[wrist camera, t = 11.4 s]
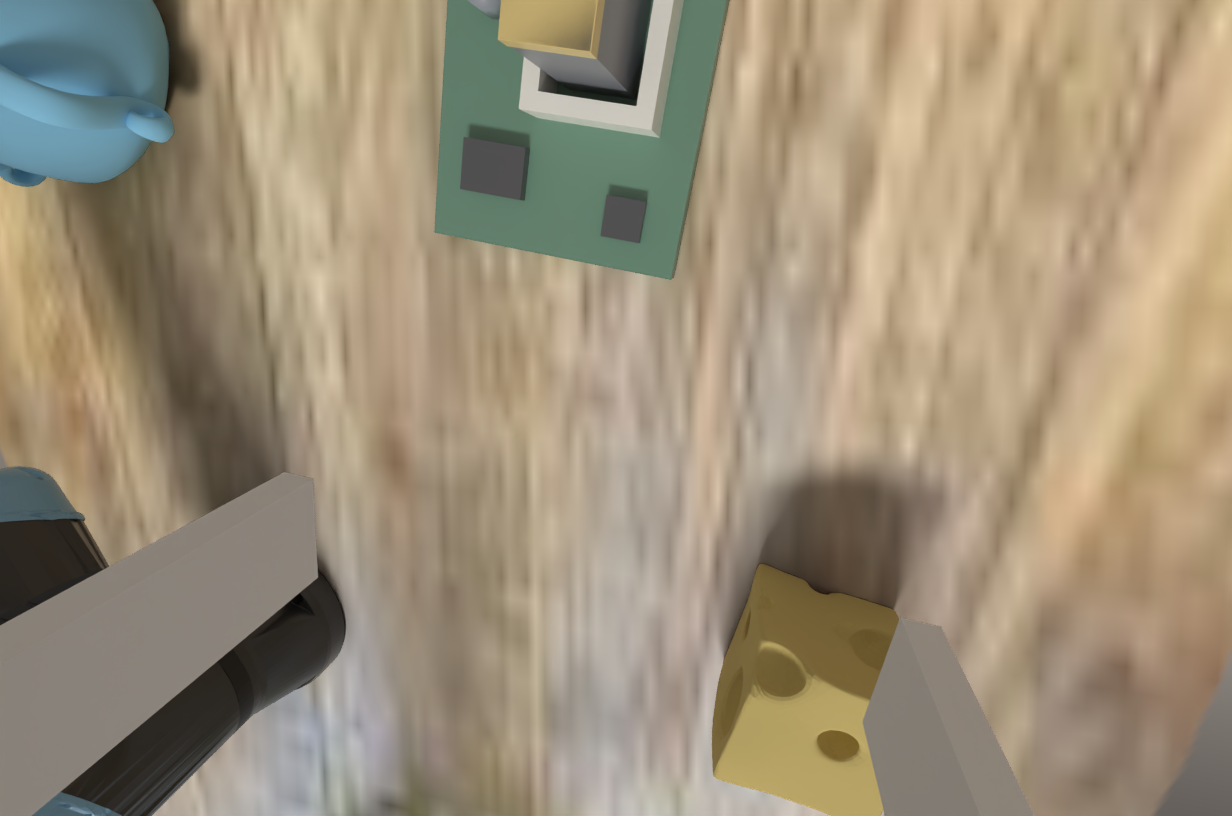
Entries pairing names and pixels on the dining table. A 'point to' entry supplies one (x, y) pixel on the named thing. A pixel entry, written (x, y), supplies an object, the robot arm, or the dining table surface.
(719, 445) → the dining table surface
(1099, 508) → the dining table surface
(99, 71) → the decorative pot
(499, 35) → the plug
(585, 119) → the header board
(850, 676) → the cheese
